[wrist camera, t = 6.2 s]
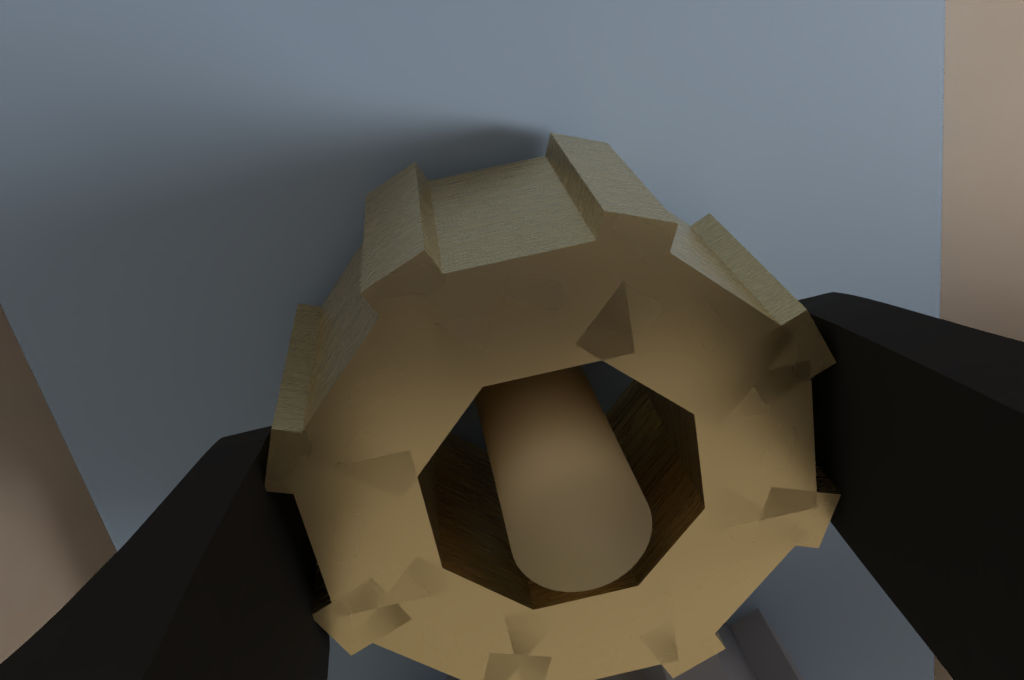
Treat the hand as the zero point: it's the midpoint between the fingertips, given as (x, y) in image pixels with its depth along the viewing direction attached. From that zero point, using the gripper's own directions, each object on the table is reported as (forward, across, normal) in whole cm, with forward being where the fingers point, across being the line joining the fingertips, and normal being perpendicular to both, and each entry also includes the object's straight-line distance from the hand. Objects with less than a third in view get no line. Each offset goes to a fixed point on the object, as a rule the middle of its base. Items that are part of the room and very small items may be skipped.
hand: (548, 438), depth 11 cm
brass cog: (+2, 0, 0) cm, 2 cm away
